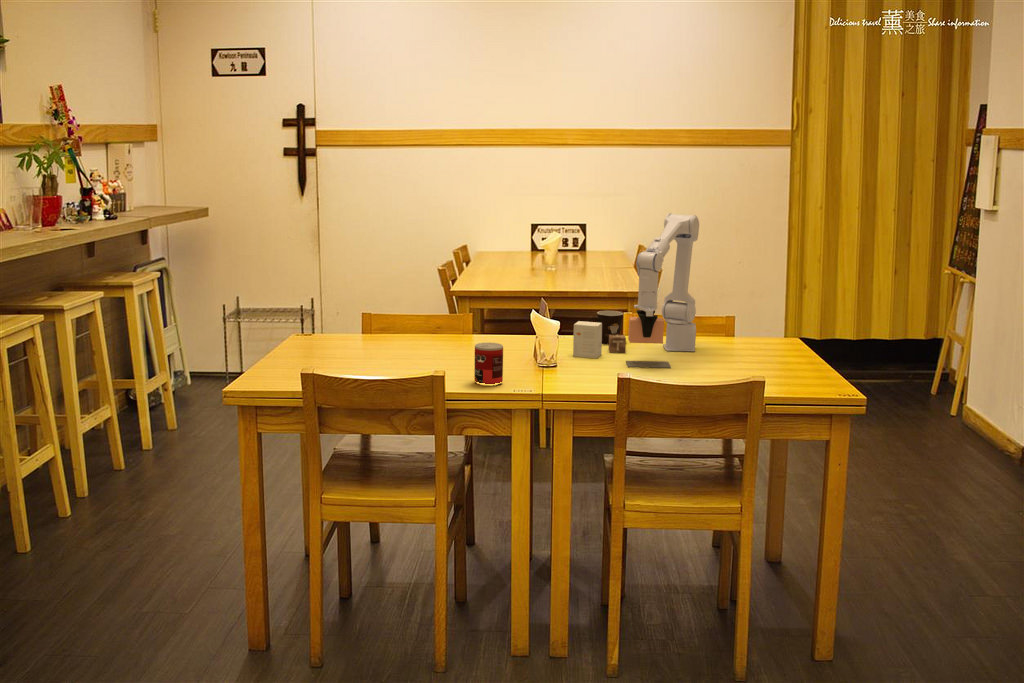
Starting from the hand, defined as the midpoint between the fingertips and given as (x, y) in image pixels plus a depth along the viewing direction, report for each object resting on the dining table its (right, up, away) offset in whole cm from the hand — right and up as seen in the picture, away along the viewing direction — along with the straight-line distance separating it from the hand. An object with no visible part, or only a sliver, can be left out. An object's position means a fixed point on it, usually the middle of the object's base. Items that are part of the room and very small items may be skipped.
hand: (645, 335), depth 317 cm
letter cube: (-7, -5, +18) cm, 20 cm away
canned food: (-48, -14, -24) cm, 55 cm away
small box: (-17, -7, +11) cm, 21 cm away
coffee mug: (-10, -2, +31) cm, 32 cm away
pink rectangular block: (0, -2, 0) cm, 2 cm away
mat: (+1, -9, 0) cm, 9 cm away
